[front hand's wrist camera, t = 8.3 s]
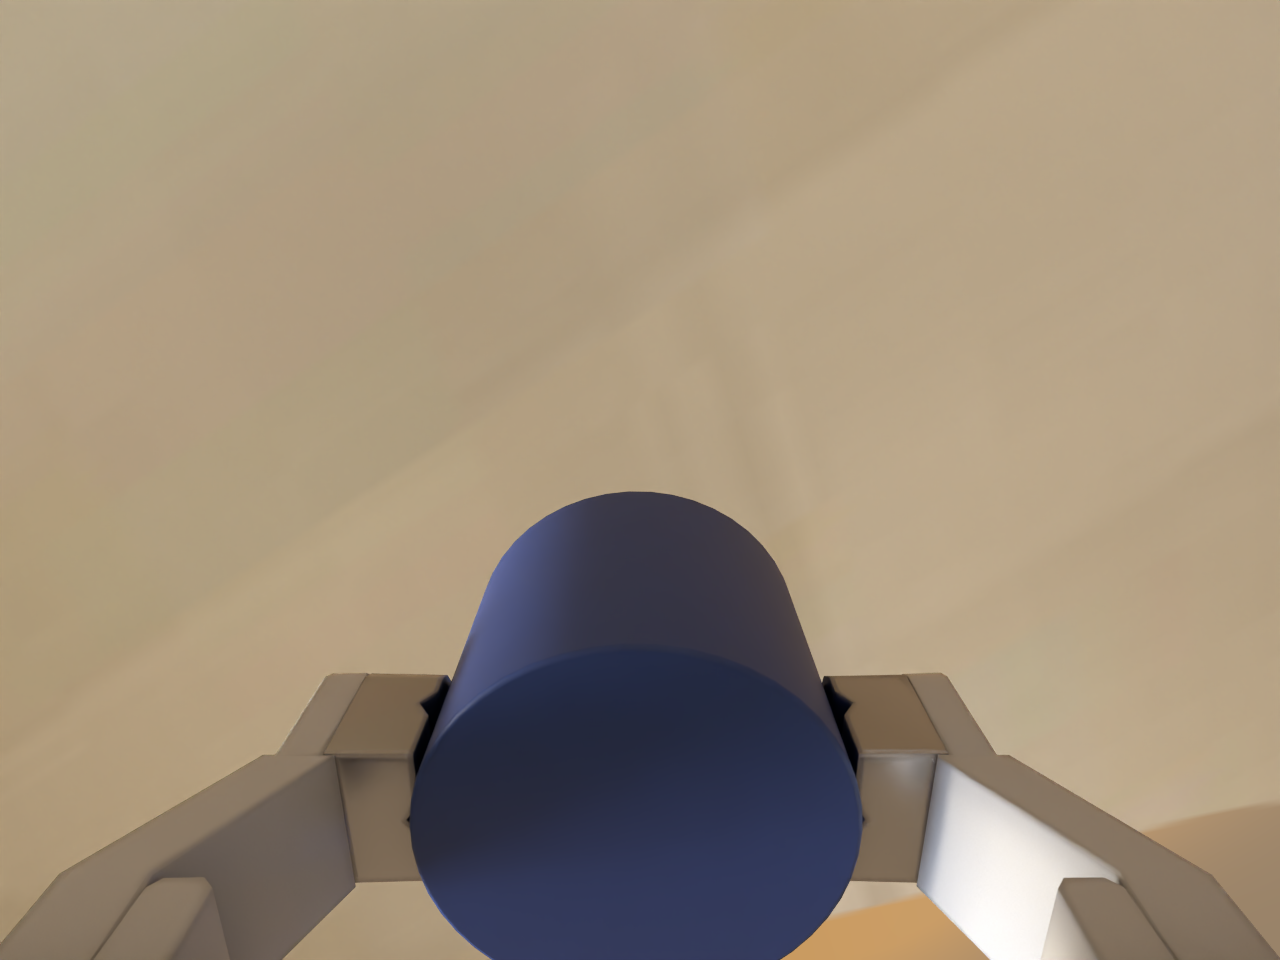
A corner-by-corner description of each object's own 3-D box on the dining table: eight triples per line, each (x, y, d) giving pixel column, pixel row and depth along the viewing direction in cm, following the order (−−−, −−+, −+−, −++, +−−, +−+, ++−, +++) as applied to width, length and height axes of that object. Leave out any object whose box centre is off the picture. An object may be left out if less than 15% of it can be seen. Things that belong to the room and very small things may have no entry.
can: (656, 424, 11) (666, 553, 7) (856, 651, 12) (952, 862, 9) (414, 619, 12) (312, 821, 8) (620, 810, 14) (613, 1061, 10)
